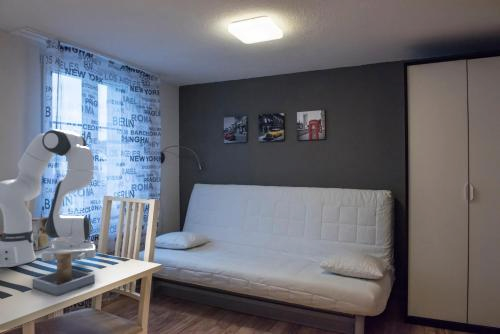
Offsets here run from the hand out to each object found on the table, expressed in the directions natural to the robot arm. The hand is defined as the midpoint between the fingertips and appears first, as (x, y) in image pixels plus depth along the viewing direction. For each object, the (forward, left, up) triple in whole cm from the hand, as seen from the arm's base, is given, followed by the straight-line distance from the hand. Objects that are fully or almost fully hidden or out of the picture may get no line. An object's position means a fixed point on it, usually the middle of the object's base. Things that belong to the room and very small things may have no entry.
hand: (66, 258), depth 140 cm
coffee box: (-24, +58, -9) cm, 64 cm away
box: (0, -6, -9) cm, 10 cm away
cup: (-11, +42, -9) cm, 45 cm away
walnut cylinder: (0, -6, -8) cm, 10 cm away
